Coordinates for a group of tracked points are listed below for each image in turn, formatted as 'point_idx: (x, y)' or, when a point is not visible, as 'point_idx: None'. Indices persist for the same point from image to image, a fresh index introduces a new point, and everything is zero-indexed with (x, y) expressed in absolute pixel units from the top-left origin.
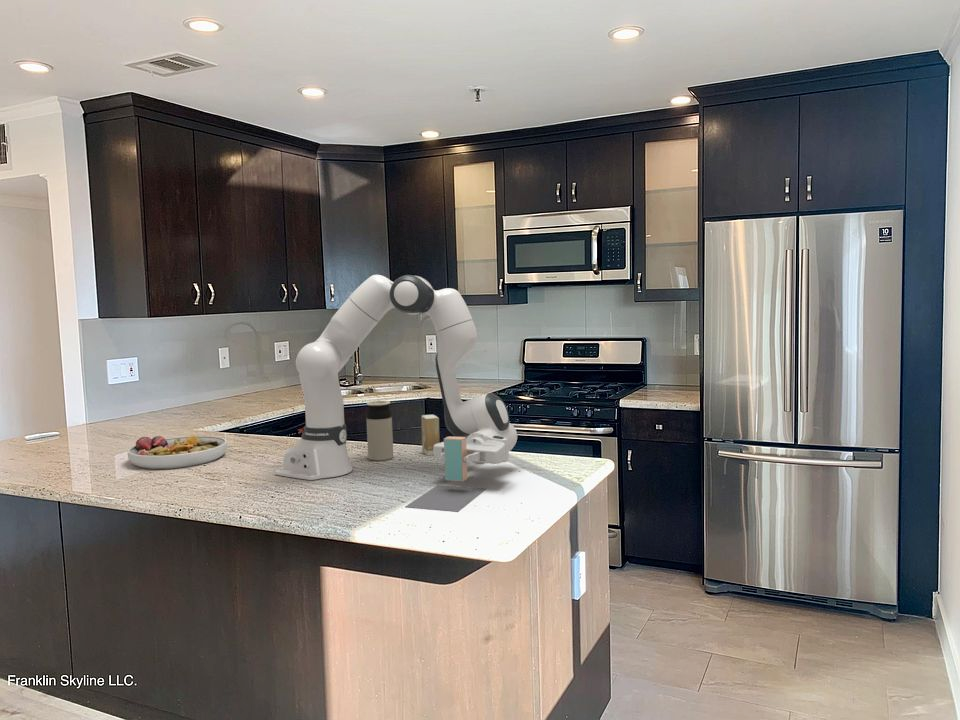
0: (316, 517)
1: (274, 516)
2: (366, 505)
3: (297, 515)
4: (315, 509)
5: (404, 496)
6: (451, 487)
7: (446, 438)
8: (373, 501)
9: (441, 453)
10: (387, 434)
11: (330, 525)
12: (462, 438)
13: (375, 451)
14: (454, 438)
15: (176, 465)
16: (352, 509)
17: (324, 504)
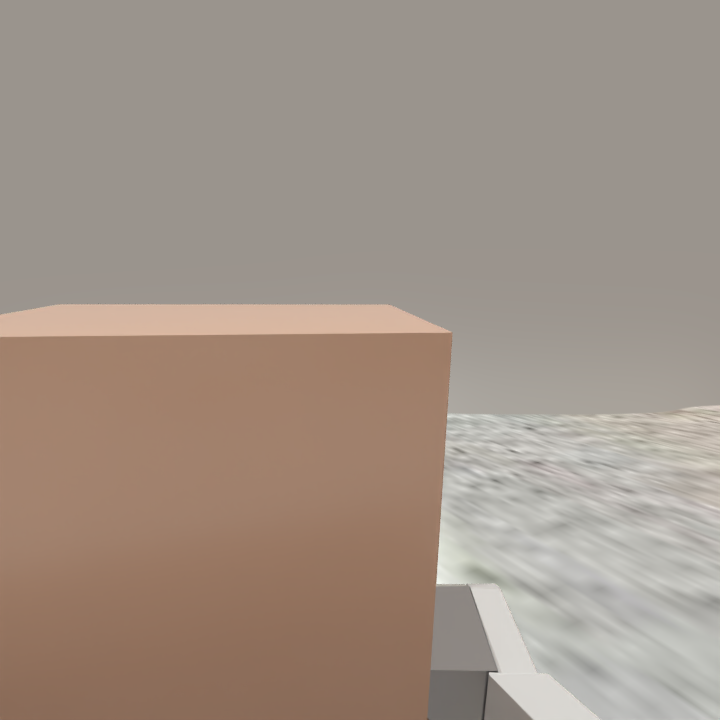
0: (545, 428)
1: (625, 414)
2: (555, 503)
3: (597, 425)
4: (625, 450)
5: (570, 646)
6: None
7: (355, 307)
8: (592, 537)
9: (500, 590)
10: None
11: (462, 416)
12: (29, 313)
13: None
14: (211, 309)
15: None
16: (544, 472)
17: (671, 475)
